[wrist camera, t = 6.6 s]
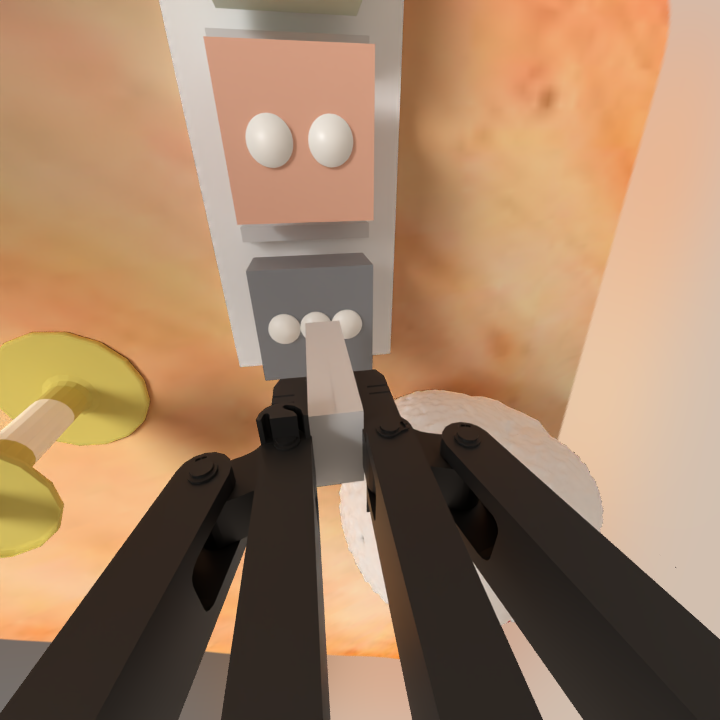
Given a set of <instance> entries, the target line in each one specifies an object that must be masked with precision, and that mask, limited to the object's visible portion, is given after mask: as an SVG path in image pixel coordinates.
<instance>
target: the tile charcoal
mask: <svg viewBox="0 0 720 720" xmlns="http://www.w3.org/2000/svg"><path fill="white" fill-rule="evenodd" d="M246 275H247V281H248V286H249V292H250V297H251V303H252V308H253V314H254V319H255V325H256V331H257V336H258V342H259V347H260V353H261V358H262V364H263V369H264V375H265V380H266V381H267V380H277V379H286V378H297V377H307V365H306V332H305V323H312V322H326V321H339V322H340V326H341V329H342V333H343V337H344V340H345V344H346V348H347V351H348V355H349V359H350V362H351V366H352V370H353V371H363V370H372V347H373V264H372V263H371V262H370V261H369V259H368V258H367V257H366V256H365V255H364V254H363V253H342V254H320V255H298V256H276V257H254V258H253V259H252V261H251V263H250V264H249V266H248V268H247V270H246Z"/></svg>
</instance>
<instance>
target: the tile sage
mask: <svg viewBox="0 0 720 720" xmlns="http://www.w3.org/2000/svg"><path fill="white" fill-rule="evenodd" d="M212 1H213V4H214V6H215V8H224V9H241V10H259V11H277V12H295V13H312V14H330V15H348V16H357V14H358V11H359V8H360V5H361V3H362V0H212Z"/></svg>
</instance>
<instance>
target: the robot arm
mask: <svg viewBox="0 0 720 720" xmlns="http://www.w3.org/2000/svg"><path fill="white" fill-rule="evenodd" d="M305 332H306V365H307V377H297V378H286V379H280V380H279V382H278V383H277V384H276V385H275V387H274V390H273V398H272V405H271V406H269V407H267V408H265V409H264V410H263V411H262V412H261V413H260V414H259V415H258V417H257V419H256V422H257V427H258V432H259V437H260V441H261V446H260V447H259V448H257V449H256V450H254V451H253V452H251V453H249V454H247V455H245V456H242V457H239V458H236V459H234V460H231V461H230V459H229V458H228V457H227V456H226V455H225V454H221V453H217V452H212V453H204V454H201V455H198V456H195V457H193V458H192V459H190V460H188V461H187V462H185V463H184V464H183V465H182V466H181V467H180V468H179V469H178V470H177V471H176V473H175V474H174V475H173V477H172V478H171V480H170V481H169V482H168V484H167V485H166V486H165V488H164V489H163V491H162V492H161V493H160V495H159V496H158V497H157V499H156V500H155V502H154V503H153V504H152V506H151V507H150V508H149V510H148V511H147V513H146V514H145V515H144V517H143V518H142V519H141V521H140V522H139V523H138V525H137V526H136V528H135V529H134V530H133V532H132V533H131V534H130V536H129V537H128V539H127V540H126V541H125V543H124V544H123V545H122V547H121V548H120V550H119V551H118V552H117V554H116V555H115V556H114V558H113V559H112V561H111V562H110V563H109V565H108V566H107V567H106V569H105V570H104V572H103V573H102V574H101V576H100V577H99V578H98V580H97V581H96V583H95V584H94V585H93V587H92V588H91V589H90V591H89V592H88V594H87V595H86V596H85V598H84V599H83V600H82V602H81V603H80V605H79V606H78V607H77V609H76V610H75V611H74V613H73V614H72V616H71V617H70V618H69V620H68V621H67V622H66V624H65V625H64V626H63V628H62V629H61V631H60V632H59V633H58V635H57V636H56V637H55V639H54V640H53V642H52V643H51V644H50V646H49V647H48V648H47V650H46V651H45V653H44V654H43V655H42V657H41V658H40V659H39V661H38V662H37V664H36V665H35V666H34V668H33V669H32V670H31V672H30V673H29V675H28V676H27V677H26V679H25V680H24V682H23V683H22V684H21V686H20V687H19V688H18V690H17V691H16V693H15V694H14V695H13V697H12V698H11V699H10V701H9V702H8V703H7V705H6V706H5V708H4V709H3V710H2V712H1V713H0V720H178V719H179V716H180V713H181V711H182V708H183V706H184V703H185V701H186V698H187V695H188V693H189V690H190V688H191V685H192V683H193V680H194V678H195V675H196V672H197V670H198V667H199V665H200V662H201V660H202V657H203V654H204V652H205V650H206V647H207V645H208V642H209V639H210V637H211V634H212V632H213V629H214V627H215V624H216V622H217V619H218V616H219V614H220V611H221V609H222V606H223V604H224V601H225V599H226V596H227V593H228V591H229V588H230V586H231V583H232V581H233V578H234V576H235V573H236V570H237V568H238V565H239V563H240V560H241V558H242V555H243V553H244V550H245V547H246V552H245V559H244V566H243V573H242V579H241V586H240V593H239V600H238V607H237V614H236V621H235V628H234V634H233V641H232V648H231V655H230V663H229V669H228V676H227V683H226V689H225V696H224V703H223V710H222V717H221V720H330V705H329V687H328V670H327V652H326V634H325V617H324V599H323V581H322V564H321V546H320V528H319V510H318V498H317V487H321V486H328V485H335V484H343V483H350V482H357V481H364V474H365V478H366V483H367V512H370V515H371V520H372V525H373V529H374V534H375V539H376V544H377V549H378V554H379V559H380V564H381V569H382V574H383V578H384V583H385V588H386V593H387V598H388V603H389V608H390V613H391V618H392V622H393V627H394V632H395V637H396V642H397V647H398V652H399V657H400V662H401V666H402V671H403V676H404V681H405V686H406V691H407V696H408V701H409V706H410V710H411V715H412V720H543V719H542V717H541V714H540V712H539V710H538V708H537V706H536V703H535V701H534V699H533V697H532V694H531V692H530V690H529V688H528V685H527V683H526V681H525V678H524V676H523V674H522V672H521V669H520V667H519V665H518V663H517V661H516V658H515V656H514V654H513V652H512V649H511V647H510V645H509V643H508V640H507V638H506V636H505V634H504V631H503V629H502V627H501V625H500V622H499V620H498V618H497V616H496V613H495V611H494V609H493V607H492V604H491V602H490V600H489V598H488V595H487V593H486V591H485V589H484V586H483V584H482V582H481V580H480V578H479V575H478V573H477V571H476V569H475V566H476V567H477V569H478V570H479V572H480V573H481V574H482V576H483V577H484V579H485V580H486V582H487V583H488V584H489V586H490V587H491V589H492V590H493V592H494V593H495V594H496V596H497V597H498V599H499V600H500V602H501V603H502V604H503V606H504V607H505V609H506V610H507V611H508V613H509V614H510V616H511V617H512V619H513V620H514V621H515V623H516V624H517V626H518V627H519V629H520V630H521V631H522V633H523V634H524V636H525V637H526V639H527V640H528V641H529V643H530V644H531V646H532V647H533V648H534V650H535V651H536V653H537V654H538V656H539V657H540V658H541V660H542V661H543V663H544V664H545V665H546V667H547V668H548V670H549V671H550V673H551V674H552V675H553V677H554V678H555V680H556V681H557V683H558V684H559V685H560V687H561V688H562V690H563V691H564V693H565V694H566V695H567V697H568V698H569V700H570V701H571V702H572V704H573V705H574V707H575V708H576V710H577V711H578V713H579V714H580V715H581V717H582V718H583V720H720V639H719V638H718V637H717V636H715V635H714V634H713V633H712V632H711V631H710V630H708V628H707V627H705V626H704V625H703V624H702V623H701V622H700V621H699V620H698V619H696V618H695V617H694V616H693V615H692V614H691V613H690V612H689V611H687V610H686V609H685V608H684V607H683V606H682V605H681V604H680V603H678V602H677V601H676V600H675V599H674V598H673V597H672V596H671V595H669V594H668V593H667V592H666V591H665V590H664V589H663V588H662V587H660V586H659V585H658V584H657V583H656V582H655V581H654V580H653V579H652V578H650V577H649V576H648V575H647V574H646V573H644V571H642V570H641V569H640V568H639V567H638V566H637V565H636V564H635V563H633V562H632V561H631V560H630V559H629V558H628V557H627V556H626V555H625V554H623V553H622V552H621V551H620V550H619V549H618V548H617V547H615V546H614V545H613V544H612V543H611V542H610V541H609V540H608V539H606V537H604V536H603V535H602V534H601V533H600V532H599V531H598V530H597V529H595V528H594V527H593V526H592V525H591V524H590V523H589V522H588V521H586V520H585V519H584V518H583V517H582V516H581V515H580V514H579V513H577V512H576V511H575V510H574V509H573V508H572V507H571V506H570V505H568V504H567V503H566V502H565V501H564V500H563V499H562V498H561V497H559V496H558V495H557V494H556V493H555V492H554V491H553V490H552V489H551V488H549V487H548V486H547V485H546V484H545V483H544V482H543V481H542V480H540V479H539V478H538V477H537V476H536V475H535V474H534V473H533V472H531V471H530V470H529V469H528V468H527V467H526V466H525V465H524V464H522V463H521V462H520V461H519V460H518V459H517V458H516V457H515V456H513V455H512V454H511V453H510V452H509V451H508V450H507V449H506V448H504V447H503V446H502V445H501V444H500V443H499V442H498V441H497V440H496V439H494V438H493V437H492V436H491V435H490V434H489V433H488V432H487V431H485V430H484V429H482V428H481V427H479V426H477V425H474V424H471V423H465V422H457V423H451V424H450V425H448V426H446V427H445V428H444V430H443V431H442V434H435V433H427V432H422V431H418V430H416V429H413V427H412V426H411V424H410V423H409V422H408V421H407V420H405V419H404V418H402V417H401V416H400V413H399V411H398V409H397V406H396V404H395V402H394V399H393V397H392V394H391V393H390V390H389V387H388V386H387V383H386V380H385V378H384V376H383V375H382V374H381V373H379V372H378V371H377V370H376V369H374V370H363V371H353V370H352V366H351V362H350V359H349V355H348V351H347V348H346V344H345V340H344V337H343V333H342V329H341V326H340V322H339V321H326V322H312V323H305ZM473 563H474V564H475V566H474V564H473Z"/></svg>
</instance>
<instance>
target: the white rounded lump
mask: <svg viewBox="0 0 720 720" xmlns="http://www.w3.org/2000/svg"><path fill="white" fill-rule="evenodd" d="M394 402H395V404H396V406H397V409H398V411H399V413H400V416H401V417H402V418H404V419H405V420H407V421H408V422H409V423H410V424H411V426H412V427H413V429H416V430H418V431H422V432H427V433H435V434H442V431H443V430H444V428H445V427H446V426H448V425H450V424H451V423H457V422H465V423H471V424H474V425H477V426H479V427H481V428H482V429H484V430H485V431H487V432H488V433H489V434H490V435H491V436H492V437H493V438H494V439H496V440H497V441H498V442H499V443H500V444H501V445H502V446H503V447H504V448H506V449H507V450H508V451H509V452H510V453H511V454H512V455H513V456H515V457H516V458H517V459H518V460H519V461H520V462H521V463H522V464H524V465H525V466H526V467H527V468H528V469H529V470H530V471H531V472H533V473H534V474H535V475H536V476H537V477H538V478H539V479H540V480H542V481H543V482H544V483H545V484H546V485H547V486H548V487H549V488H551V489H552V490H553V491H554V492H555V493H556V494H557V495H558V496H559V497H561V498H562V499H563V500H564V501H565V502H566V503H567V504H568V505H570V506H571V507H572V508H573V509H574V510H575V511H576V512H577V513H579V514H580V515H581V516H582V517H583V518H584V519H585V520H586V521H588V522H589V523H590V524H591V525H592V526H593V527H594V528H595V529H597V530H598V531H599V532H600V528H601V526H602V523H603V517H602V514H603V507H602V501H601V497H600V493H599V490H598V487H597V486H596V481H595V480H594V478H593V477H592V476H591V475H590V471H589V470H588V468H587V466H586V464H585V463H583V462H582V461H581V460H580V457H579V456H578V455H576V454H575V452H572V451H571V450H570V449H569V448H568V447H567V446H566V445H564V444H562V443H560V442H559V441H558V440H557V439H556V438H553V437H551V436H550V435H549V433H548V432H547V431H546V429H545V428H544V427H543V426H542V424H541V423H540V422H539V421H538V420H536V419H534V418H532V417H530V416H528V415H526V414H525V413H523V412H520V411H518V410H515V409H513V408H510V407H508V406H506V405H504V404H503V403H501V402H500V401H498V400H494V399H491V398H487V397H484V396H469V395H466V394H464V393H457V392H451V391H445V390H437V389H435V390H426V391H422V392H421V391H416V392H414V393H412V394H409V395H405V396H403V397H399V399H395V400H394ZM339 495H340V499H341V503H340V504H339V509H340V515H341V523H342V529H343V530H344V534H345V539H346V541H347V543H348V549H349V551H350V552H351V553H352V554H353V557H354V558H355V559H354V560H355V563H356V565H357V567H358V568H359V569H360V572H361V573H362V574H363V577H364V580H365V581H366V582H368V583H370V585H371V588H372V590H373V591H374V592H375V593H377V594H379V595H380V597H381V598H382V600H384V601H385V602H386V603H388V598H387V593H386V588H385V583H384V578H383V574H382V569H381V564H380V559H379V554H378V549H377V544H376V539H375V534H374V529H373V525H372V520H371V515H370V512H367V483H366V478H365V474H364V481H357V482H350V483H343V484H342V486H341V488H340V491H339ZM473 564H474V563H473ZM474 566H475V564H474ZM675 568H676V567H675ZM475 569H476V571H477V573H478V575H479V578H480V580H481V582H482V584H483V586H484V589H485V591H486V593H487V595H488V598H489V600H490V602H491V604H492V607H493V609H494V611H495V613H496V616H497V618H498V620H499V622H500V625H502V624H505V623H507V622H508V621H511V620H513V619H512V617H511V616H510V614H509V613H508V611H507V610H506V609H505V607H504V606H503V604H502V603H501V602H500V600H499V599H498V597H497V596H496V594H495V593H494V592H493V590H492V589H491V587H490V586H489V584H488V583H487V582H486V580H485V579H484V577H483V576H482V574H481V573H480V572H479V570H478V569H477V567H476V566H475ZM388 604H389V603H388Z"/></svg>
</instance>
